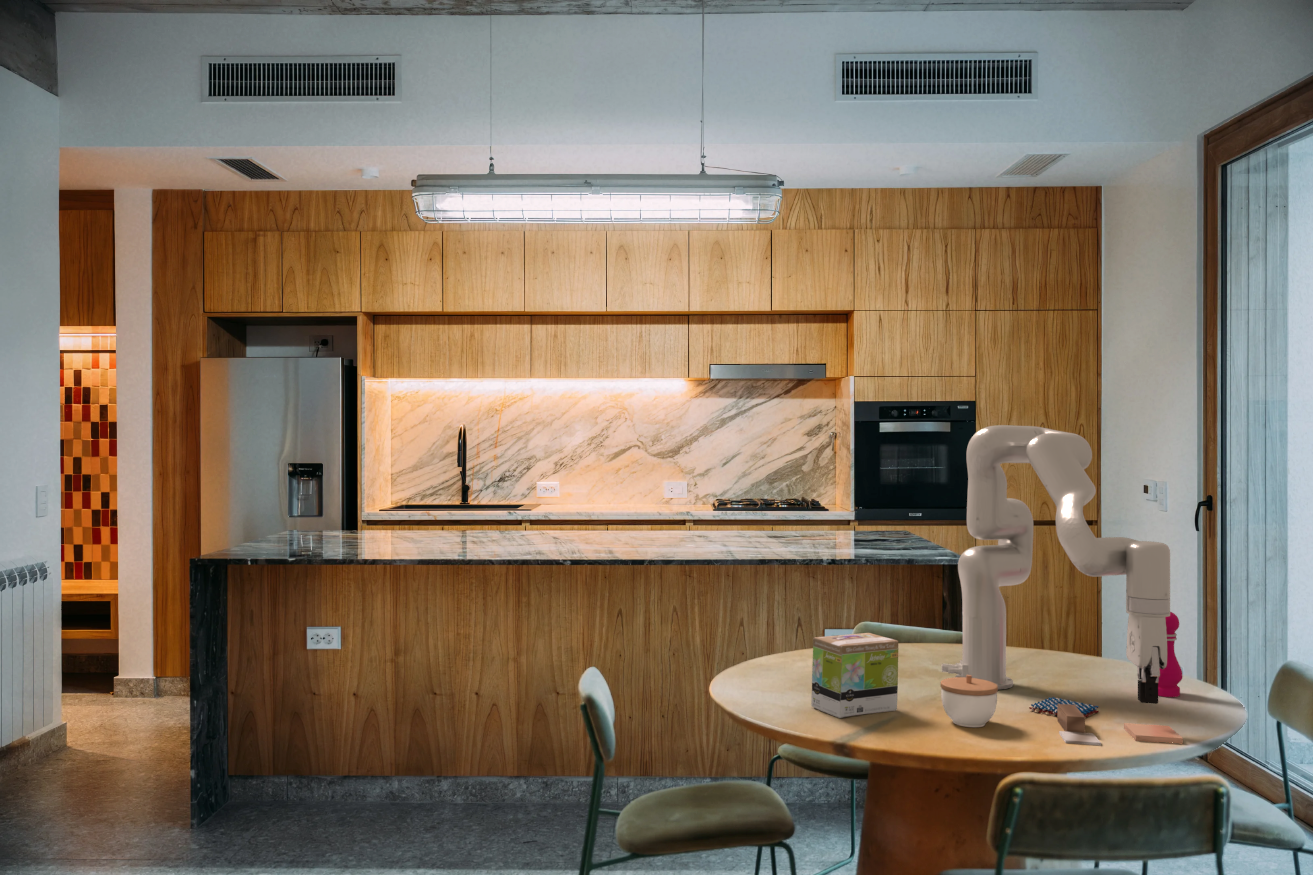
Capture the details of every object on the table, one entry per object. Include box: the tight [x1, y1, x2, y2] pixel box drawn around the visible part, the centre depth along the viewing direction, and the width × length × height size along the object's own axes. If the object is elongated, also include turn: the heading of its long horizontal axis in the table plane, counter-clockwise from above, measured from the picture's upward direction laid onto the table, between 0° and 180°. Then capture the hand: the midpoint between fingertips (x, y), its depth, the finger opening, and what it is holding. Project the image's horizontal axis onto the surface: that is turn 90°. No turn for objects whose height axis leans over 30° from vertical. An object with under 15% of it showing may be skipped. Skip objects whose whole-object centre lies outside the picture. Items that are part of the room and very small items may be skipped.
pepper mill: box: [1158, 611, 1184, 698], centre depth 211 cm, size 7×7×20 cm
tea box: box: [810, 632, 900, 719], centre depth 196 cm, size 15×10×15 cm
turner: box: [1056, 704, 1102, 747], centre depth 181 cm, size 6×15×4 cm, turn 168°
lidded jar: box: [939, 675, 999, 728], centre depth 187 cm, size 11×11×9 cm
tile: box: [1123, 722, 1184, 744], centre depth 179 cm, size 8×2×8 cm
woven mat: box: [1028, 696, 1099, 718], centre depth 195 cm, size 10×11×2 cm
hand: (1147, 701), depth 182 cm, fingers closed
